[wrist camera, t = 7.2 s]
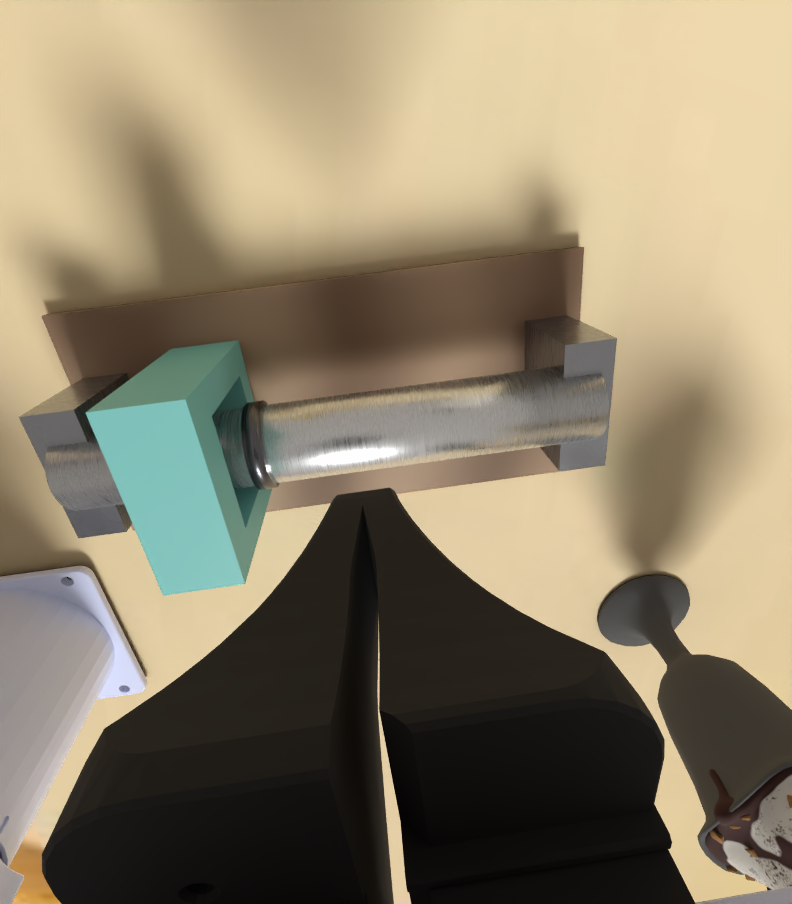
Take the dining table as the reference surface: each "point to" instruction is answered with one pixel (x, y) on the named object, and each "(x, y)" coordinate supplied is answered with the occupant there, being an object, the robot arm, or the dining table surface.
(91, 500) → the metal rail stand
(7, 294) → the dining table surface
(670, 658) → the sundae
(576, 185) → the dining table surface
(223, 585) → the collar
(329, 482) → the base board
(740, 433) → the dining table surface
